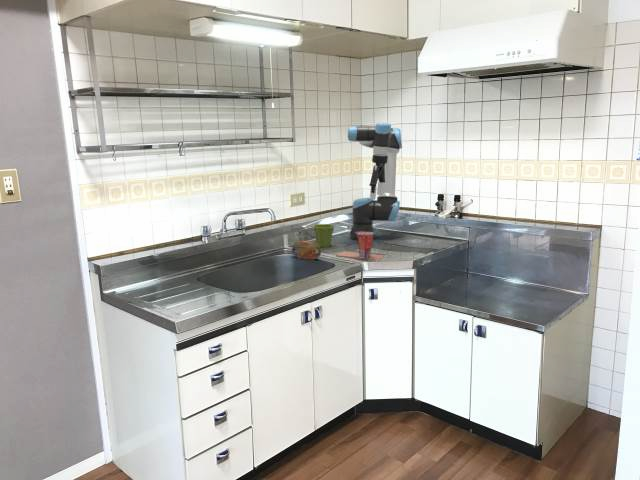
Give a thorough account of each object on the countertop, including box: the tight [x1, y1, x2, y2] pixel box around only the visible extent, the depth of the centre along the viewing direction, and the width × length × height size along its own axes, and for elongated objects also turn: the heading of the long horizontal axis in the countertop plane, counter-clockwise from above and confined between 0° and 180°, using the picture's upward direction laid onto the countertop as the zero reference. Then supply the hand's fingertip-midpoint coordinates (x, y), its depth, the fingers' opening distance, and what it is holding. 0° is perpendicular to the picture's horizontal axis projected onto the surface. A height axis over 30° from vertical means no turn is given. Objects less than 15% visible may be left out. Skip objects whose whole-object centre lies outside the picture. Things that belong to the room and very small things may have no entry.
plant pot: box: [312, 223, 335, 248], centre depth 284 cm, size 12×12×11 cm
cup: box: [355, 232, 374, 258], centre depth 255 cm, size 9×8×12 cm
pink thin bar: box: [346, 250, 388, 256], centre depth 267 cm, size 2×22×1 cm, turn 64°
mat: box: [335, 250, 386, 261], centre depth 261 cm, size 10×22×1 cm, turn 64°
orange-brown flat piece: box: [291, 240, 322, 261], centre depth 257 cm, size 15×3×8 cm, turn 62°
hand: (376, 197), depth 267 cm, fingers open, 13 cm apart
